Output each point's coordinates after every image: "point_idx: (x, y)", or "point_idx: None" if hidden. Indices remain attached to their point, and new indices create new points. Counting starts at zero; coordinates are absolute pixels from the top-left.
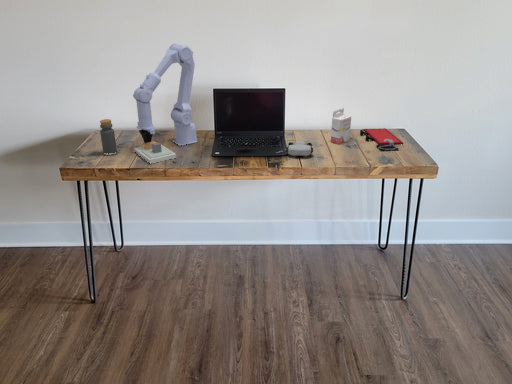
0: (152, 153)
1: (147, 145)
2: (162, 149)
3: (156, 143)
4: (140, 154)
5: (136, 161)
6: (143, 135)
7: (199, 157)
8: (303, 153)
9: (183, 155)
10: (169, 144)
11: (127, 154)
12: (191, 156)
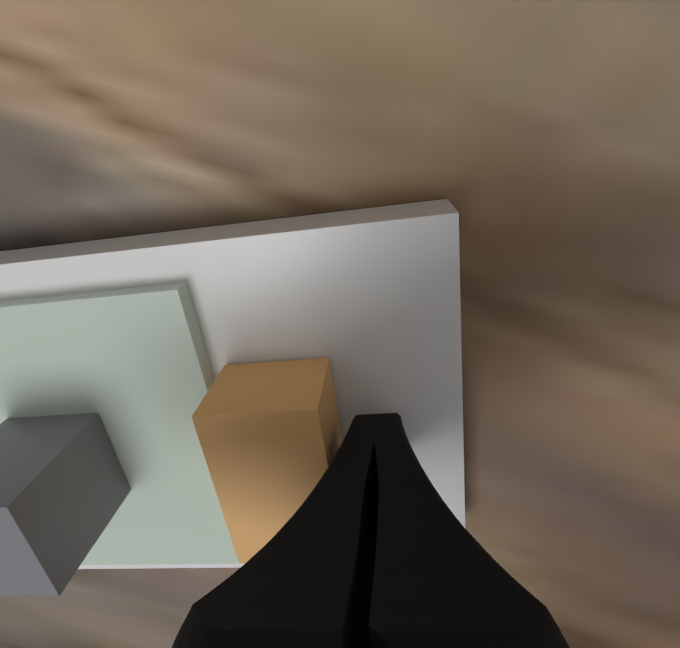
0: (11, 388)
1: (202, 431)
2: (137, 524)
3: (2, 564)
4: (155, 242)
5: (32, 125)
6: (260, 569)
7: (22, 645)
8: None
9: (101, 589)
10: None
11: (413, 66)
12: (59, 618)
